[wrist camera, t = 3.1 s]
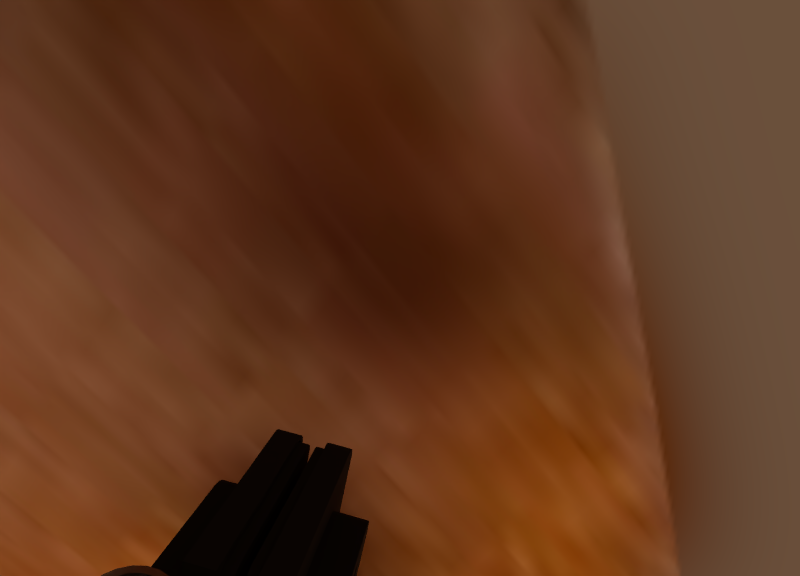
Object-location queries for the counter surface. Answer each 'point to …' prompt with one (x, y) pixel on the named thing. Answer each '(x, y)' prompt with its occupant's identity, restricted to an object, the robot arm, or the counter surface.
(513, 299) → the counter surface
